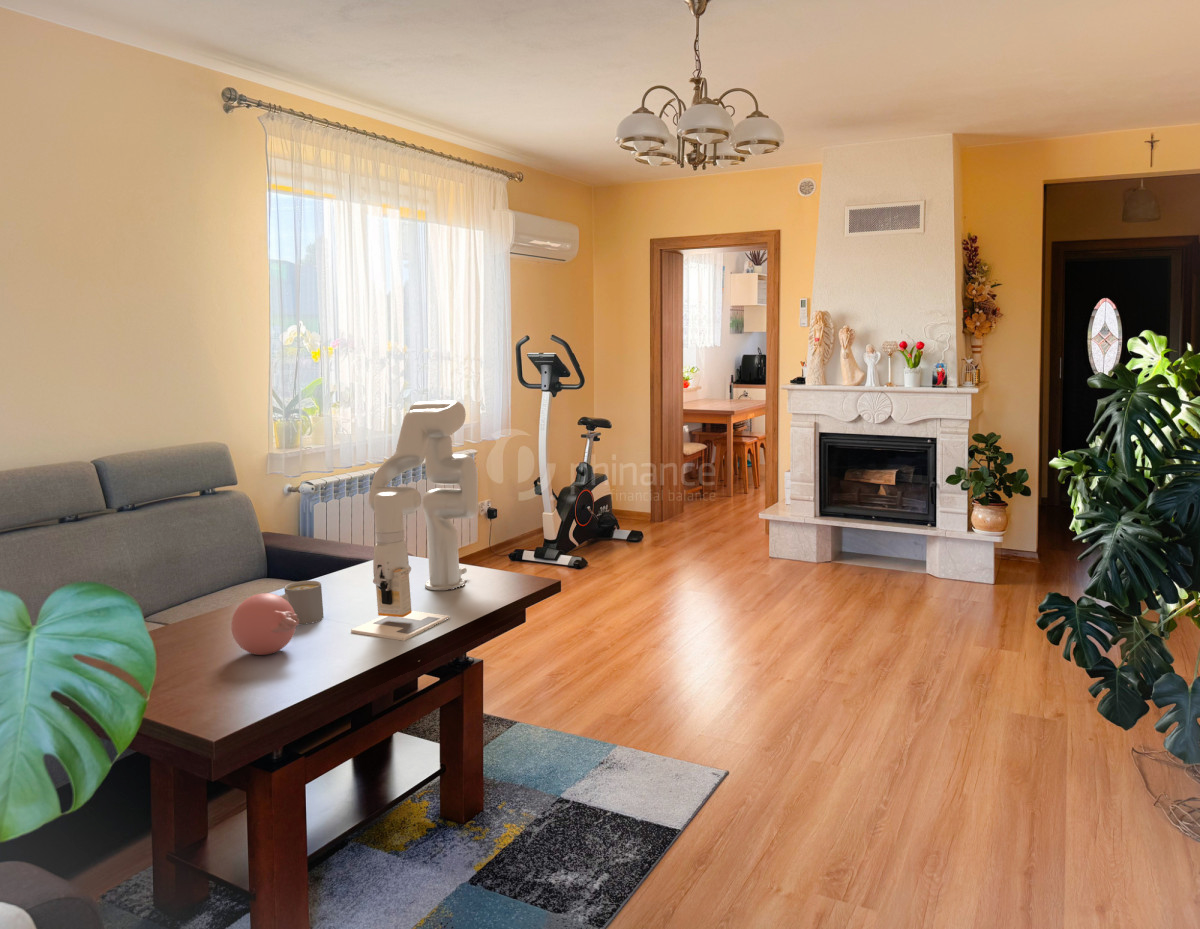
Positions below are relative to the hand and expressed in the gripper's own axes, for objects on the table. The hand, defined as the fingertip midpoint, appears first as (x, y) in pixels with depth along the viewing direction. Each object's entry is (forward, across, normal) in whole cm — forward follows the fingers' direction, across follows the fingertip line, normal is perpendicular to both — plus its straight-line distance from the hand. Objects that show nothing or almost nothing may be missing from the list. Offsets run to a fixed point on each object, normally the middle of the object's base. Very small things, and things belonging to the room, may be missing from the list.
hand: (394, 600), depth 240 cm
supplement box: (+4, 0, 0) cm, 4 cm away
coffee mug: (+7, +7, -29) cm, 31 cm away
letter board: (+7, 0, +2) cm, 7 cm away
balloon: (+7, +31, -14) cm, 35 cm away
